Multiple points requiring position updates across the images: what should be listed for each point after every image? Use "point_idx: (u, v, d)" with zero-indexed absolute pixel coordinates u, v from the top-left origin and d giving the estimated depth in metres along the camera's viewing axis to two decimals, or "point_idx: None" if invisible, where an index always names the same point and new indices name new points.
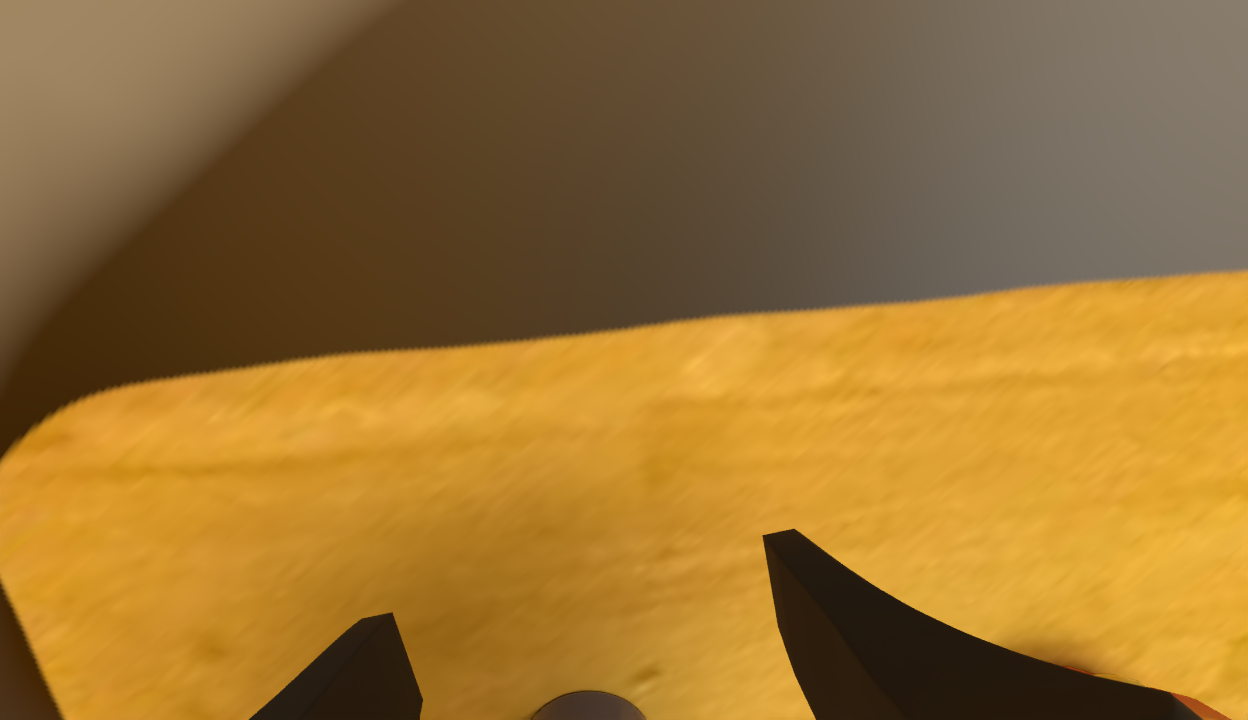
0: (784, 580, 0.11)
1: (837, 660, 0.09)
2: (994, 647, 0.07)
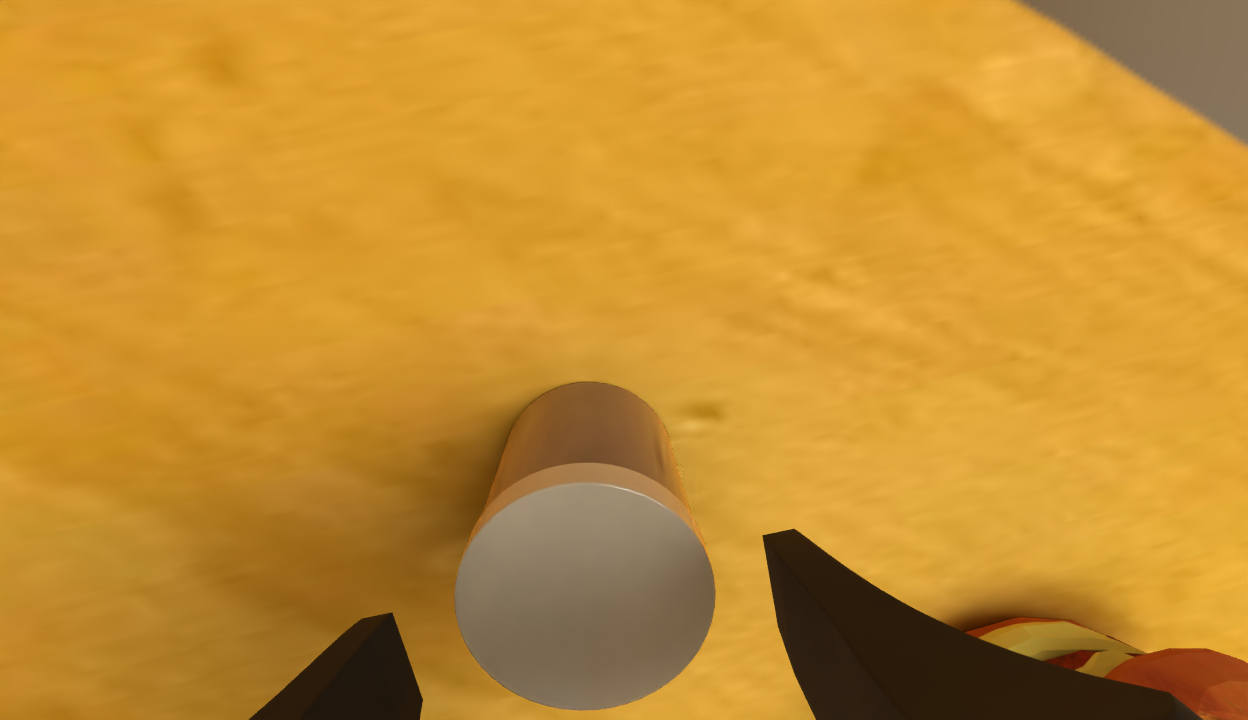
0: (784, 580, 0.11)
1: (837, 660, 0.09)
2: (994, 647, 0.07)
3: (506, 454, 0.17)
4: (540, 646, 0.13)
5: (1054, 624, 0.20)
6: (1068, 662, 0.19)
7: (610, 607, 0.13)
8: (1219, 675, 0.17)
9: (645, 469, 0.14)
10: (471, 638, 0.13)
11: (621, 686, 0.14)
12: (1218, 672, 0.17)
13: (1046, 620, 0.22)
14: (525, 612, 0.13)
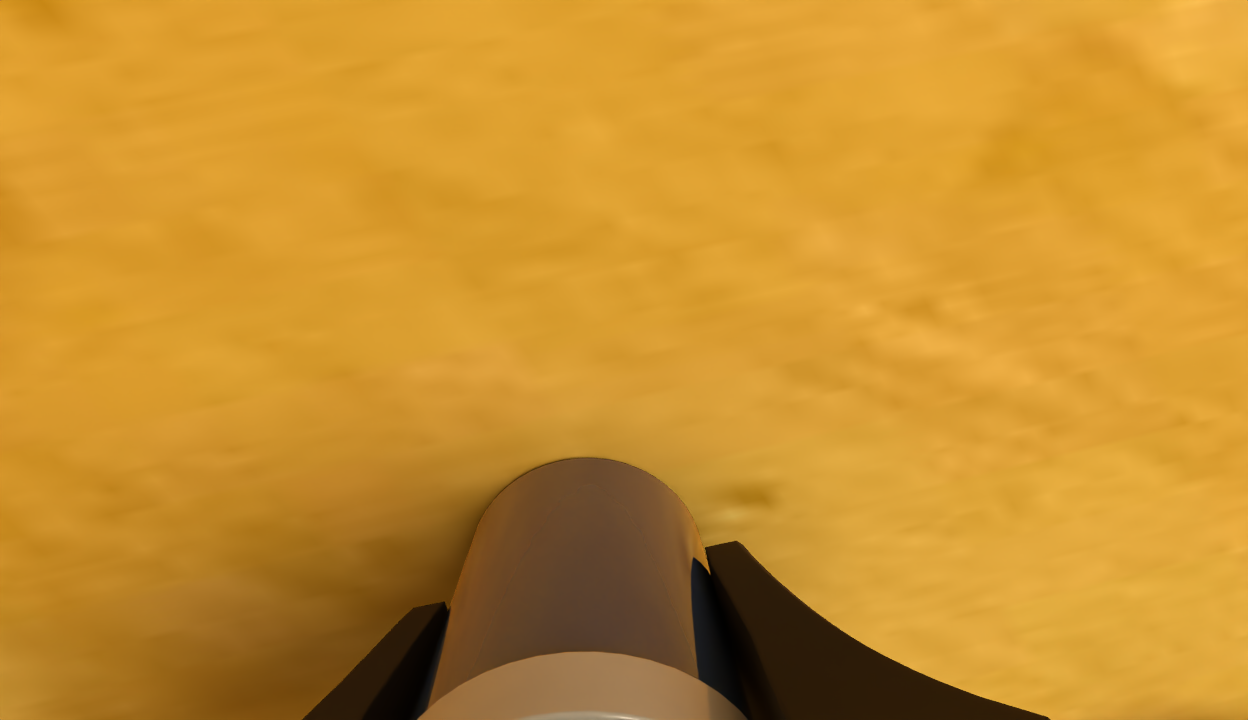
0: (720, 593, 0.11)
1: (759, 676, 0.09)
2: (899, 667, 0.07)
3: (463, 583, 0.11)
4: None
5: None
6: None
7: None
8: None
9: (678, 644, 0.09)
10: None
11: None
12: None
13: None
14: None
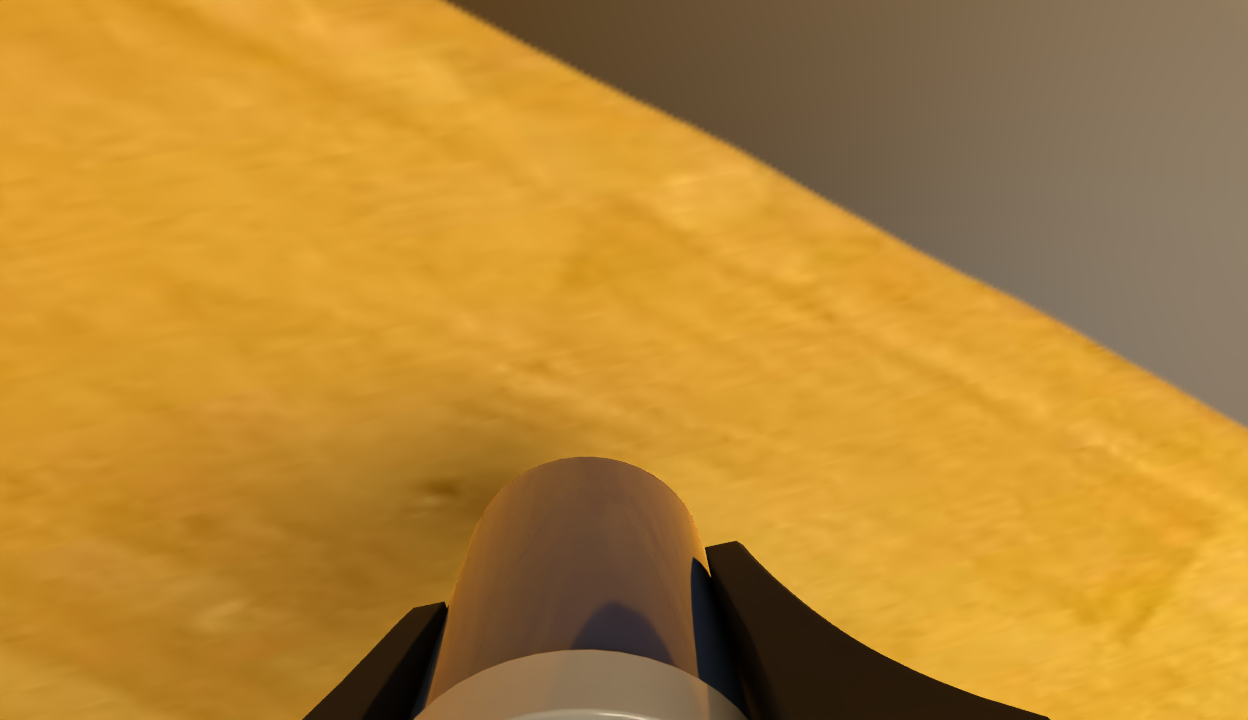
0: (720, 593, 0.11)
1: (759, 676, 0.09)
2: (898, 666, 0.07)
3: (461, 581, 0.11)
4: None
5: None
6: None
7: None
8: None
9: (676, 643, 0.09)
10: None
11: None
12: None
13: None
14: None
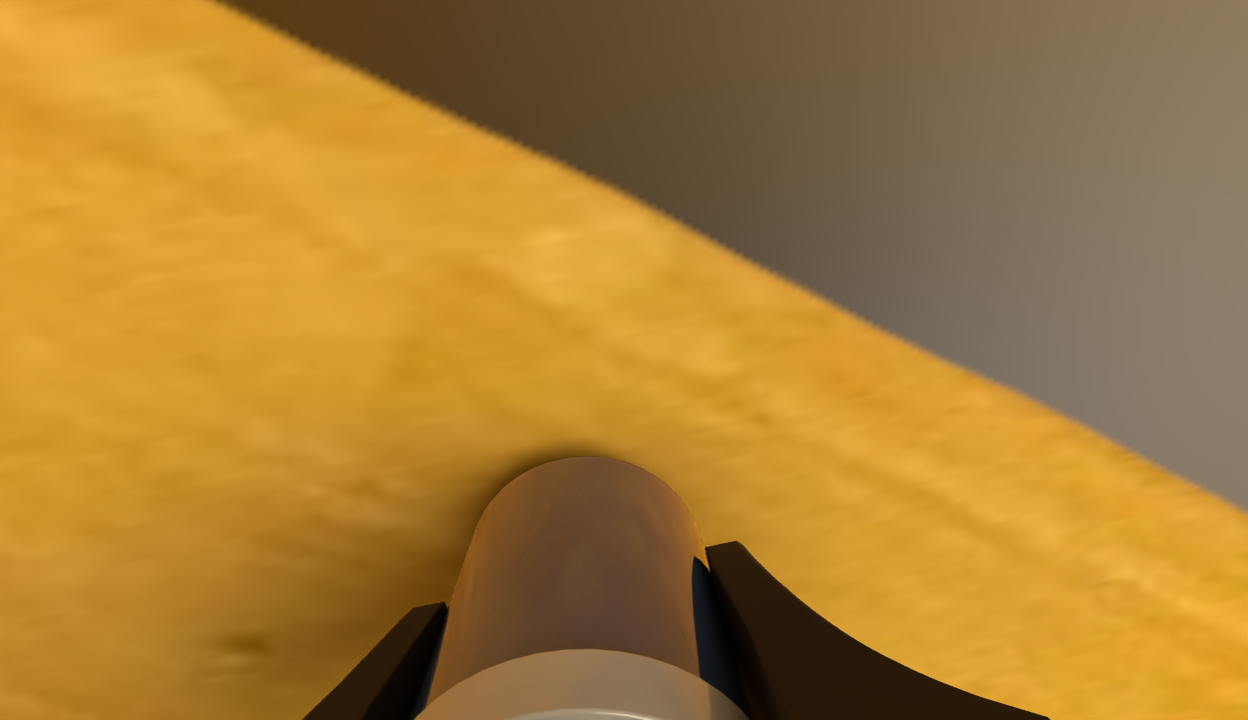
0: (720, 593, 0.11)
1: (759, 676, 0.09)
2: (899, 666, 0.07)
3: (462, 581, 0.11)
4: None
5: None
6: None
7: None
8: None
9: (678, 642, 0.09)
10: None
11: None
12: None
13: None
14: None
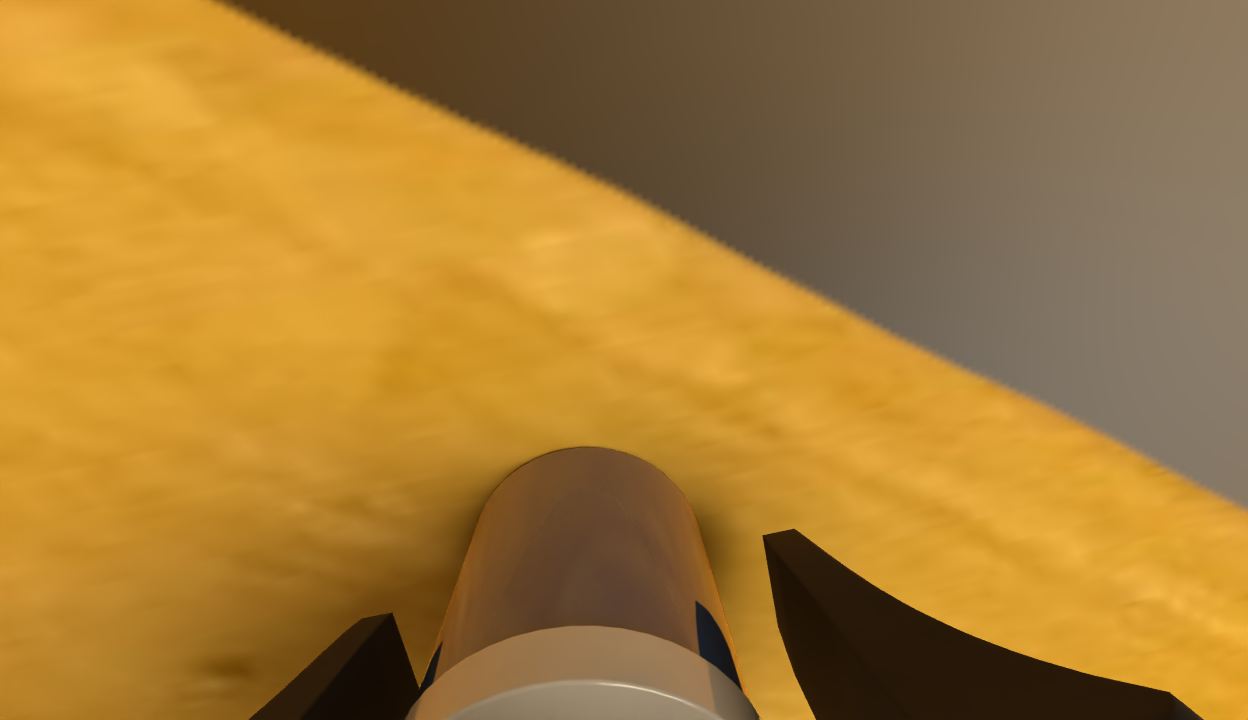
0: (784, 580, 0.11)
1: (837, 660, 0.09)
2: (994, 647, 0.07)
3: (467, 566, 0.12)
4: None
5: None
6: None
7: None
8: None
9: (675, 621, 0.09)
10: None
11: None
12: None
13: None
14: None
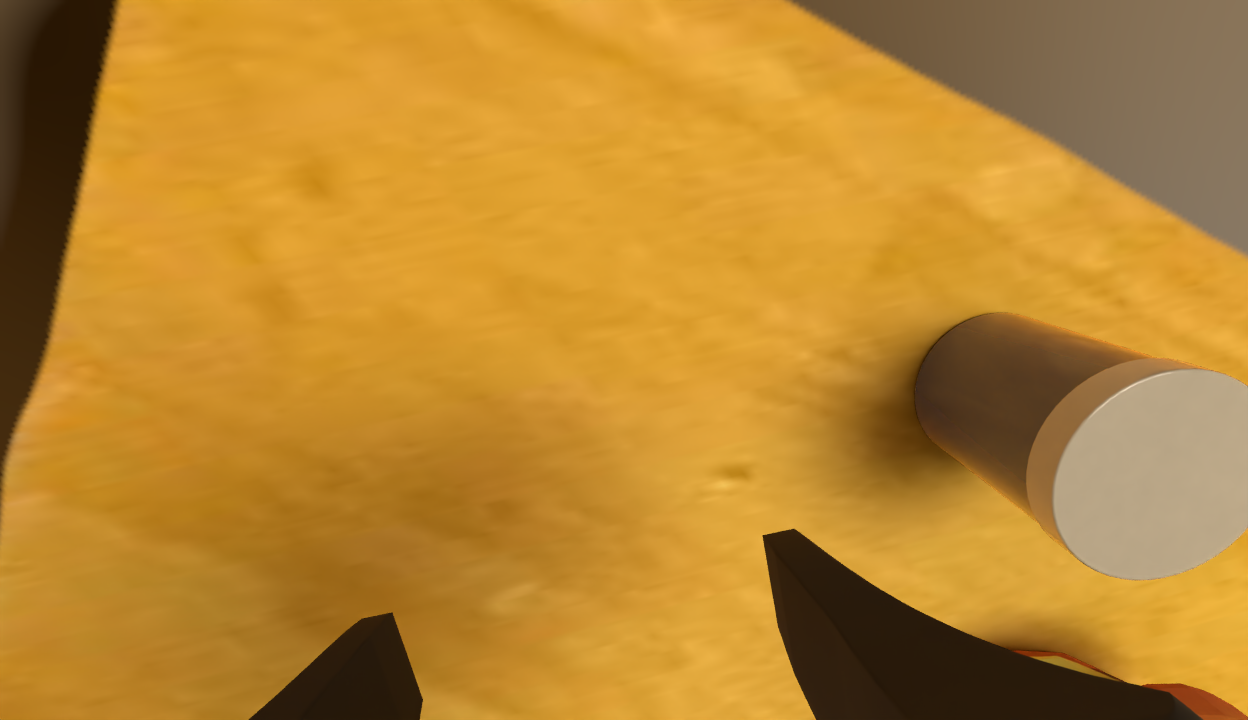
0: (784, 580, 0.11)
1: (837, 660, 0.09)
2: (994, 647, 0.07)
3: (981, 369, 0.19)
4: (1117, 520, 0.15)
5: (1047, 659, 0.23)
6: None
7: (1185, 484, 0.15)
8: None
9: None
10: (1061, 512, 0.15)
11: (1177, 557, 0.16)
12: (1189, 707, 0.19)
13: (1040, 653, 0.24)
14: (1113, 488, 0.15)
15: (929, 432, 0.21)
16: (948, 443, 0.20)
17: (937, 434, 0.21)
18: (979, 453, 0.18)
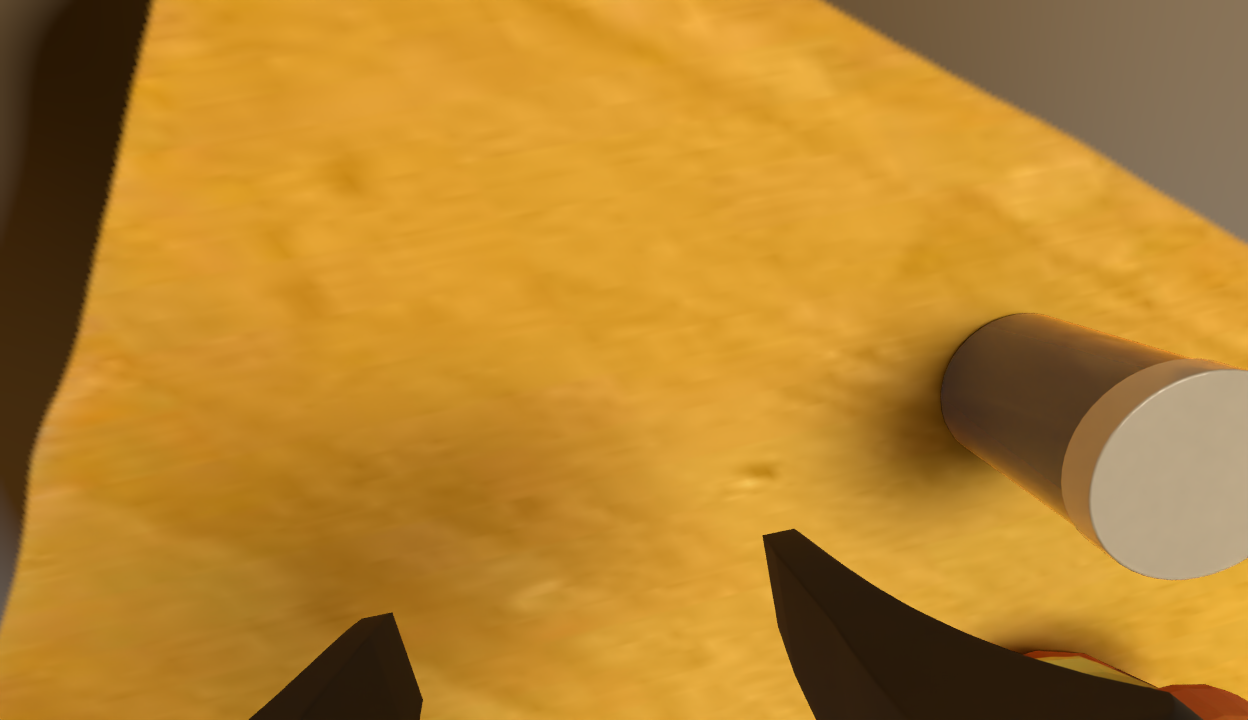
0: (784, 580, 0.11)
1: (837, 660, 0.09)
2: (994, 647, 0.07)
3: (1012, 369, 0.19)
4: (1154, 519, 0.15)
5: (1070, 659, 0.23)
6: None
7: (1222, 484, 0.15)
8: (1216, 710, 0.19)
9: None
10: (1098, 511, 0.15)
11: (1212, 557, 0.16)
12: (1215, 708, 0.19)
13: (1062, 653, 0.24)
14: (1150, 488, 0.15)
15: (955, 432, 0.21)
16: (976, 443, 0.20)
17: (964, 434, 0.21)
18: (1009, 453, 0.18)
